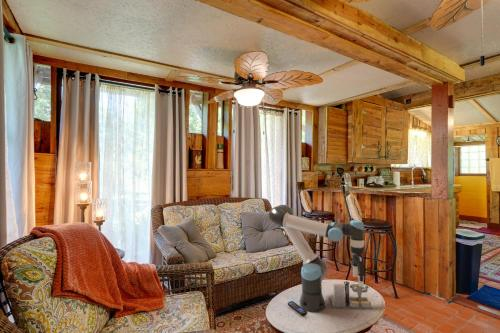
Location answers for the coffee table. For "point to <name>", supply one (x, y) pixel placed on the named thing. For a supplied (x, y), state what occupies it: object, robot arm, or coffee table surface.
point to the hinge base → (350, 305)
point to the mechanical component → (359, 290)
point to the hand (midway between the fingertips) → (358, 281)
